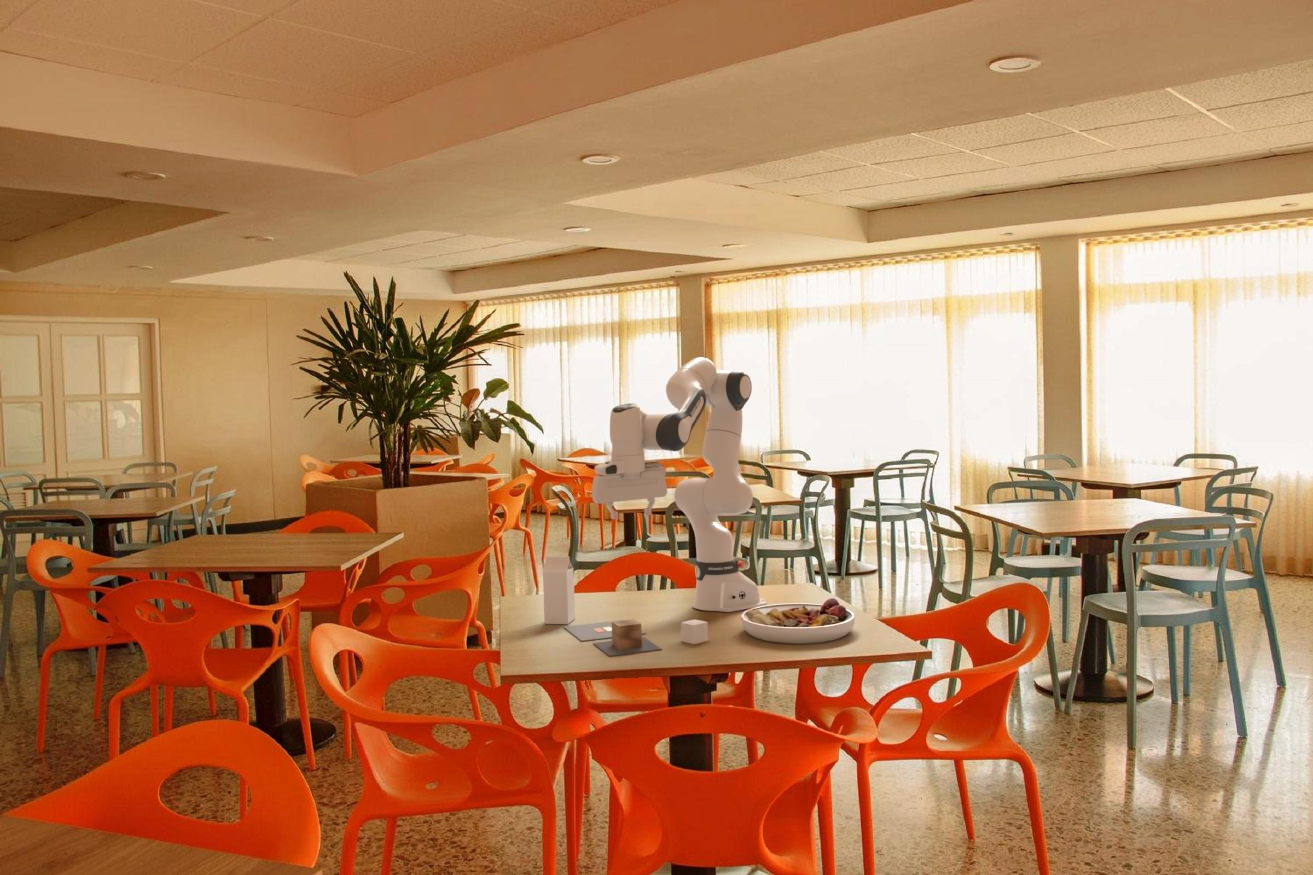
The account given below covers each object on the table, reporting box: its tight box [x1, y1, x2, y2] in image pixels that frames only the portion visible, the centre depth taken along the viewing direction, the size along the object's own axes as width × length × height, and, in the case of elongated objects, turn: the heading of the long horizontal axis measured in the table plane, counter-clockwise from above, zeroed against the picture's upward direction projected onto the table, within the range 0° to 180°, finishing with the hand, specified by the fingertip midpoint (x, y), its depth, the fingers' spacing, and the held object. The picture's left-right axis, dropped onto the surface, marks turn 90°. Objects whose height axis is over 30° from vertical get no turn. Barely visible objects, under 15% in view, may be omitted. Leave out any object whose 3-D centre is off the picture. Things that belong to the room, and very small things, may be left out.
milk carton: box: [542, 556, 576, 625], centre depth 289 cm, size 7×7×19 cm
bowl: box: [740, 598, 856, 645], centre depth 268 cm, size 30×30×8 cm
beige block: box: [680, 618, 709, 645], centre depth 262 cm, size 5×5×5 cm
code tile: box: [563, 619, 646, 643], centre depth 276 cm, size 18×18×1 cm
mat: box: [592, 636, 663, 657], centre depth 258 cm, size 14×14×1 cm
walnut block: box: [611, 618, 643, 650], centre depth 257 cm, size 6×6×6 cm
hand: (631, 516), depth 267 cm, fingers open, 8 cm apart
